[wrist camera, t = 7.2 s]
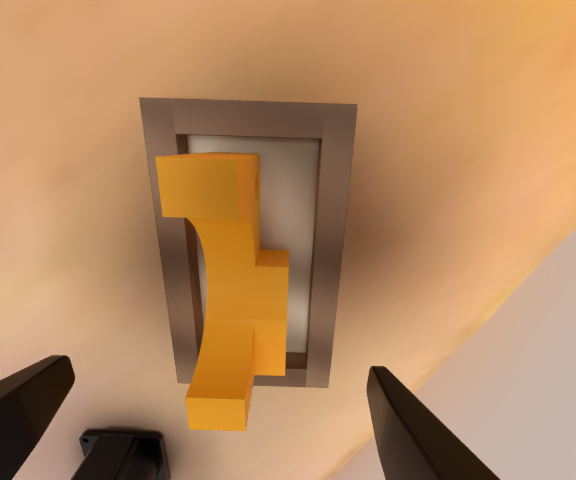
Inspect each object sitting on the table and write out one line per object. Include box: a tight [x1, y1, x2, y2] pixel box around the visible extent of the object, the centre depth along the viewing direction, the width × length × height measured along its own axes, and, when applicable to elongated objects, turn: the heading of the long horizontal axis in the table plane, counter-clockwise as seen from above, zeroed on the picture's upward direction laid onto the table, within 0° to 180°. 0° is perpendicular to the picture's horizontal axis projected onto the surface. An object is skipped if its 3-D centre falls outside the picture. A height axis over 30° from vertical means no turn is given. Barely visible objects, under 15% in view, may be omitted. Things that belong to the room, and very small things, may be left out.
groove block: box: [139, 98, 358, 388], centre depth 16 cm, size 17×10×2 cm, turn 178°
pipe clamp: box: [155, 152, 289, 431], centre depth 14 cm, size 12×4×6 cm, turn 178°
